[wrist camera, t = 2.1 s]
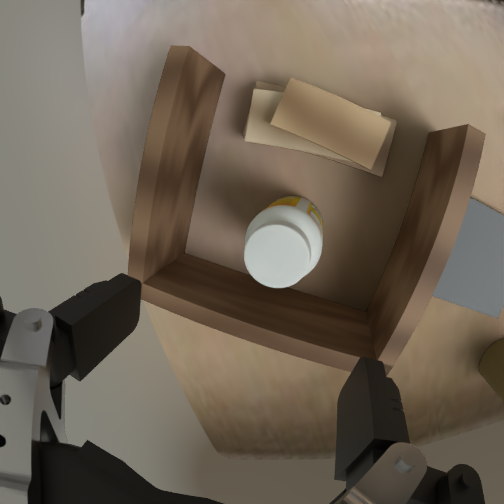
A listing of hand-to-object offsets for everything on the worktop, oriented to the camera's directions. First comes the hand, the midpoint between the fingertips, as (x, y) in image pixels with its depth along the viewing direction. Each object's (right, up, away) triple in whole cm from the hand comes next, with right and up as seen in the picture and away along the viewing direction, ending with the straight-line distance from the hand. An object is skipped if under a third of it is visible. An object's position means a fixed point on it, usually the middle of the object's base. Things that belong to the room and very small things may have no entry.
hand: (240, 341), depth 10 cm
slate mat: (+24, +2, +13) cm, 27 cm away
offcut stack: (+6, +14, +14) cm, 20 cm away
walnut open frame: (+5, +8, +16) cm, 18 cm away
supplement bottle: (+4, +5, +17) cm, 18 cm away
